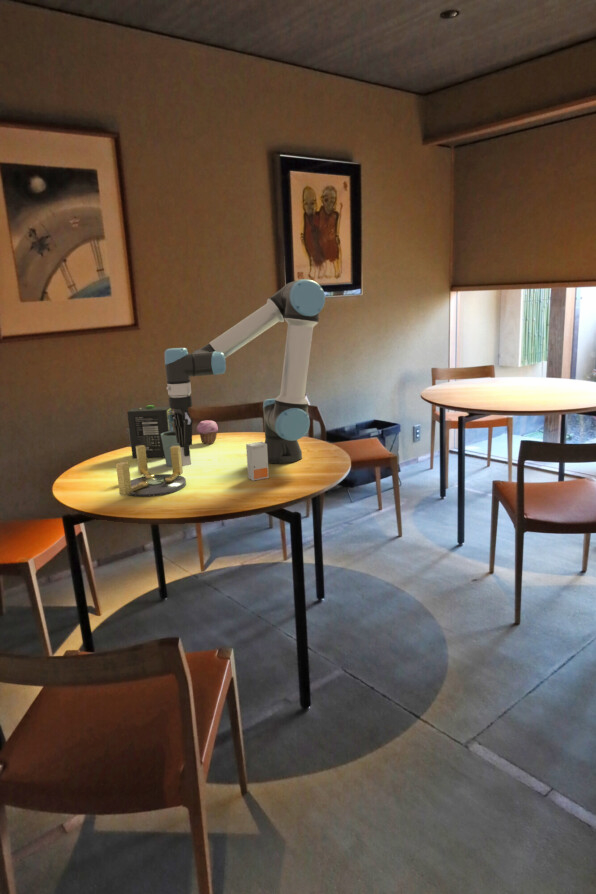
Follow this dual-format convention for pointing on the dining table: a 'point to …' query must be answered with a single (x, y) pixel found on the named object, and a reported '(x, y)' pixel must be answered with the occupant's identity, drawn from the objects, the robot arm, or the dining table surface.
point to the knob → (143, 462)
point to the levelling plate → (158, 485)
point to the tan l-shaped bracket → (175, 463)
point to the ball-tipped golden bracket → (127, 479)
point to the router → (149, 429)
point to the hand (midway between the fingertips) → (186, 464)
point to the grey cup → (168, 445)
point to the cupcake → (207, 431)
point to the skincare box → (257, 461)
